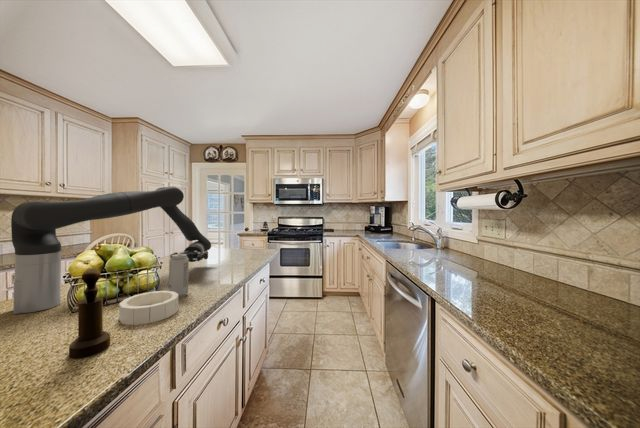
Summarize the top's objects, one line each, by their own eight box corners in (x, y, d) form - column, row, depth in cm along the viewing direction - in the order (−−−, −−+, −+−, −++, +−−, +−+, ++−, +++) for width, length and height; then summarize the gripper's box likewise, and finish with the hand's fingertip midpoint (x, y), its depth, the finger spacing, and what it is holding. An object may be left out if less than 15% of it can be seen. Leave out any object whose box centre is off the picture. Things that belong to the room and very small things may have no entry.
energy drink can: (172, 293, 87) (172, 253, 87) (189, 292, 89) (190, 253, 89) (166, 299, 82) (166, 256, 81) (185, 298, 83) (186, 256, 83)
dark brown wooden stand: (78, 345, 54) (79, 267, 53) (114, 339, 56) (115, 265, 56) (61, 362, 48) (63, 274, 47) (103, 354, 50) (104, 271, 50)
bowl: (125, 330, 61) (126, 312, 60) (115, 314, 70) (115, 299, 70) (184, 313, 71) (184, 298, 71) (168, 301, 80) (169, 288, 80)
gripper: (177, 244, 109) (166, 251, 94) (210, 243, 113) (205, 249, 98) (177, 260, 109) (166, 269, 94) (210, 259, 114) (205, 267, 98)
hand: (186, 259), depth 96 cm, fingers open, 8 cm apart
